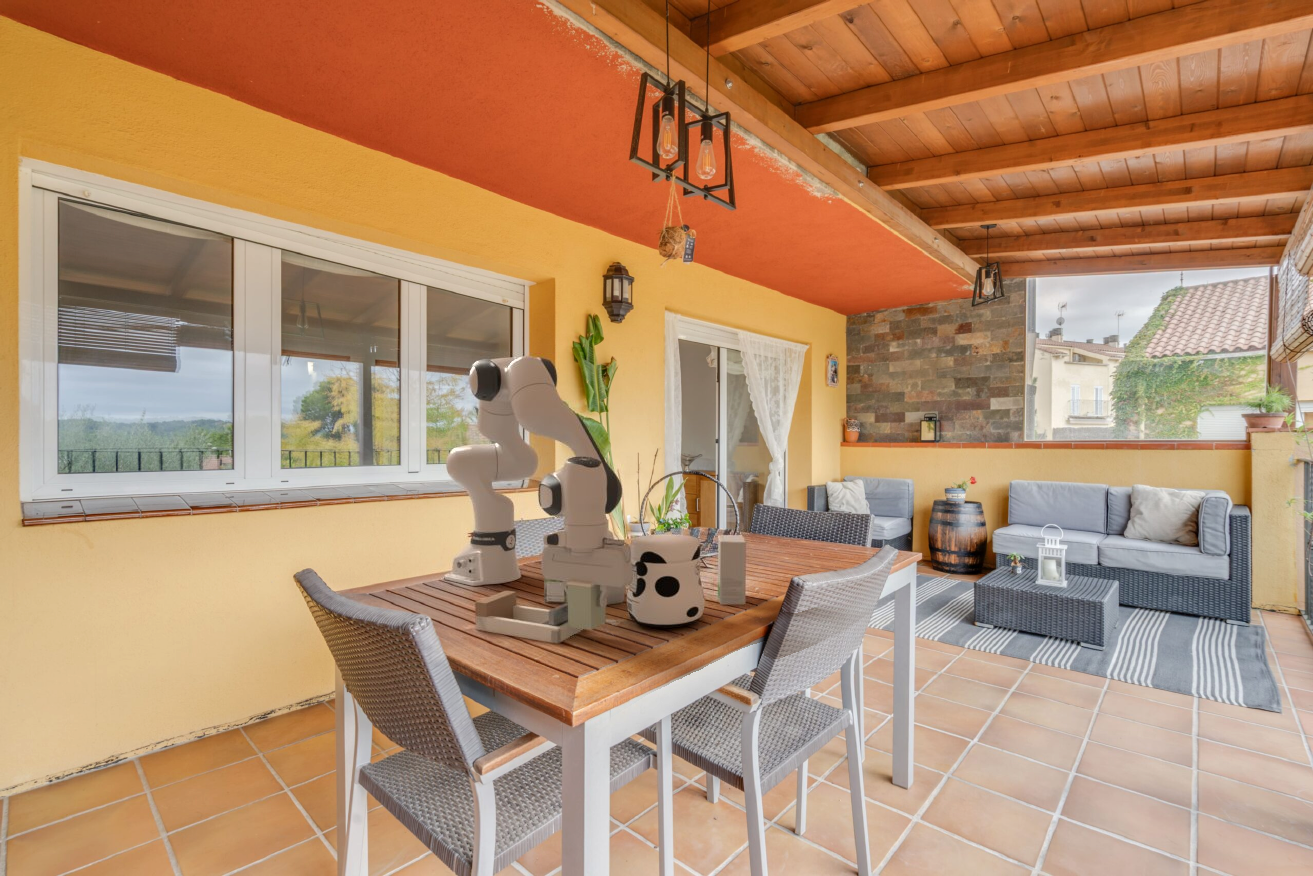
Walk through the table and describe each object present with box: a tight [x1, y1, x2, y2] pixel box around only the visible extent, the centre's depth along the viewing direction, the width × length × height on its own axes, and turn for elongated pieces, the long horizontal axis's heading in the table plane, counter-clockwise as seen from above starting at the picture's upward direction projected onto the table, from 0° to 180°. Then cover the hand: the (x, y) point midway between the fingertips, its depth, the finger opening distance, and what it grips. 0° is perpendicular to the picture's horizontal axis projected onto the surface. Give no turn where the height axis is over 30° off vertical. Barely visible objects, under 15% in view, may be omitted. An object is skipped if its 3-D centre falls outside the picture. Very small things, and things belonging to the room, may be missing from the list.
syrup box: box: [543, 544, 568, 604], centre depth 154 cm, size 6×6×14 cm
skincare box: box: [717, 534, 747, 606], centre depth 151 cm, size 8×7×16 cm
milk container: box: [626, 533, 706, 629], centre depth 136 cm, size 17×17×18 cm
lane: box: [474, 590, 584, 645], centre depth 132 cm, size 22×10×6 cm, turn 63°
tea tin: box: [567, 580, 607, 631], centre depth 125 cm, size 6×6×9 cm
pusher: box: [542, 602, 568, 627], centre depth 129 cm, size 4×7×6 cm, turn 153°
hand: (586, 604), depth 125 cm, fingers closed on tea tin, 5 cm apart
